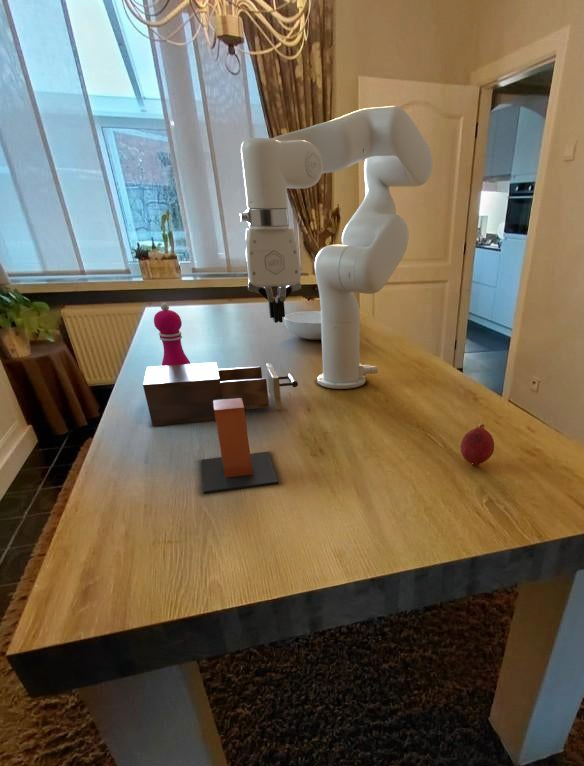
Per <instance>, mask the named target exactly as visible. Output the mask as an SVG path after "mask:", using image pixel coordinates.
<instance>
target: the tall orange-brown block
mask: <svg viewBox="0 0 584 766" xmlns="http://www.w3.org/2000/svg"><path fill="white" fill-rule="evenodd" d="M213 405H214V412H215V419H216V420H215V424H216V430H217V436H218V442H219V449H220V454H221V456H220V457H222V462H223V468H224V474H225V478H229V477H236V476H244V475H252V474H253V472H252V464H251V457H250V454H251V450H250V441H249V433H248V426H247V425H248V424H247V419H246V409H244V405H243V401H242V398H236V399H224V400H213Z"/></svg>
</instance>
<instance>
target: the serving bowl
mask: <svg viewBox="0 0 584 766" xmlns="http://www.w3.org/2000/svg"><path fill="white" fill-rule="evenodd" d="M283 320H284V321H283V322H284V325H285V327H286V329H287V330H288V332H290V333H291V334H292V335H294V336H296V337H298V338H302V339H305V340H308V341H322V333H321V310H305V311H296V312H290V313H288V314H285V317H283Z"/></svg>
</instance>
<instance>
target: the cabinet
mask: <svg viewBox="0 0 584 766" xmlns="http://www.w3.org/2000/svg"><path fill="white" fill-rule="evenodd" d="M218 369H219V366H218V362H215V361H214V362H200V363H191V364H183V365H169V366H162V365H157V366H155V365H154V366H146V370H145V374H144V378H143V382H142V388H143V393H144V395H145V400H146V403H147V409H148V413H149V417H150V421H151V425H152V427H157V426H170V425H178V424H179V425H181V424H189V423H200V422H211V421H216V419H215V412H214V405H213V400H223V397H222V391H221V384H220V378H219V372H218Z"/></svg>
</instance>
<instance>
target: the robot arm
mask: <svg viewBox="0 0 584 766" xmlns="http://www.w3.org/2000/svg"><path fill="white" fill-rule="evenodd" d="M240 153H241V154H240V155H241V162H242V173H243V181H244V190H245V198H246V207H247V209H246V210H245V211H244V212H240V213H239V216H240V217H239V218H240V222H245V223H247V224H248V226H249V227H247V228H246V229H245V264H246V273H247V274H246V275H247V279H248V284H247V290H248V291H249V292H250V293H255V294H260V295H261V296H262V297H263V298H265V299H266V300H267V301H268V312H269V318H270V319H272V320H273V322H274V323H275V324H277V323H283V322H284V321H283V320H284V317H285V315H286V311H285V301H286V299H287V298H288V297H289V296H290V295H291V293H293V292H296V291H299V290H301V289H302V284H301V276H302V275H301V266H300V258H299V248H298V243H297V238H296V237H297V236H296V232H295V229H294V228H293V227H290V220H289V219H290V217H289V209H288V208H289V203H288V193H287V192H288V191H287V189H291V190H292V189H293V190H294V189H295V190H298V189H303V190H304V189H309V188H312V187H313V186H315V185H316V184H318V183H319V181H320V179H321V177H322V175H323V174H330V173H335V172H340V171H343V170H345V169H348V168H350V167H352V166H354V165H356V164H358V163H360V162H362V161H364V164H363V175H364V194H365V196H364V198H363V200H362V201H361V204H360V205H359V206H358V208H357V209H356V211H355V212H354V214H353V215H352V216H351V218H350V219H349V220H348V222H347V223H346V225H345V226H344V229H343V232H342V234H341V244H339V243H337V244H329V245H326V246H324V247H321V249H320V250H319V251H318V253H317V254H316V256H315V259H314V260H315V261H314V275H315V279H316V284H317V289H318V295H319V304H320V305H319V306H320V311H321V333H322V340H321V357H322V373H320V374H319V375H318V376H317V378H316V380H317V381H316V382H317V384H318V385H320V386H321V387H324V388H328V389H334V390H348V389H349V390H350V389H354V388H359V387H362V386H363V385H365V383H366V381H367V379H366V378H367V377H366V376H367V375H369V374H370V375H375V374H378V372H379V369H378V365H373V366H372V365H370V364H364V365H363V364H362V363H361V362H360V361H361V359H360V357H361V355H360V354H361V352H360V351H361V336H360V335H361V310H360V304H359V302H358V298H357V297H356V295H355V293H359V294H364V295H365V294H367V295H368V294H369V295H374V294H376V293H379V292H380V291H381V290H382V289H383V288H384V287H385V286H386V284H387V283H388V281H389V280H390V278H392V277H391V276H392V275H393V274H394V273H395V271H396V269H397V268H398V267H399V265H400V263H401V261H402V259H403V258H404V256H405V254H406V251H407V249H408V245H409V238H410V237H409V236H410V235H409V234H410V233H409V227H408V224H407V222H406V221H405V219H404V218H403V217H402V216H400V215H398V214H397V209H396V207H397V206H396V203H395V201H394V198H393V196H392V195H391V191H390V188H391V187H392V188H393V187H395V188H397V187H400V188H401V187H402V188H403V187H404V188H405V187H407V188H409V187H412V188H413V187H420V186H423V185H425V184H426V183H427V182H428V181H429V179H430V177H431V175H432V172H433V167H434V165H433V162H434V161H433V154H432V151H431V148H430V145H429V144H428V143H427V141H426V139H425V137H424V136H423V134H422V133H421V131H420V129H419V128H418V126H417V125H416V123H415V122H414V120H413V119H412V117H411V116H410V115H409V114H408V113H407V112H406V110H404V109H403V108H402V107H400V106H397V105H389V106H379V107H365V108H361V109H358V110H355V111H352V112H350V113H346V114H344V115H342V116H340V117H336V118H334V119H331V120H328V121H324V122H320V123H316V124H314V125H311V126H308V127H305V128H301V129H298V130H294V131H290V132H287V133H283V134H280V135H277V136H274V137H272V138H269V137H267V138H266V137H251V138H250V137H249V138H246V139H244V140H243V141H242V143H241V145H240ZM272 287H277V295H276V298H275V297H274V294H273V289H272Z"/></svg>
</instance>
